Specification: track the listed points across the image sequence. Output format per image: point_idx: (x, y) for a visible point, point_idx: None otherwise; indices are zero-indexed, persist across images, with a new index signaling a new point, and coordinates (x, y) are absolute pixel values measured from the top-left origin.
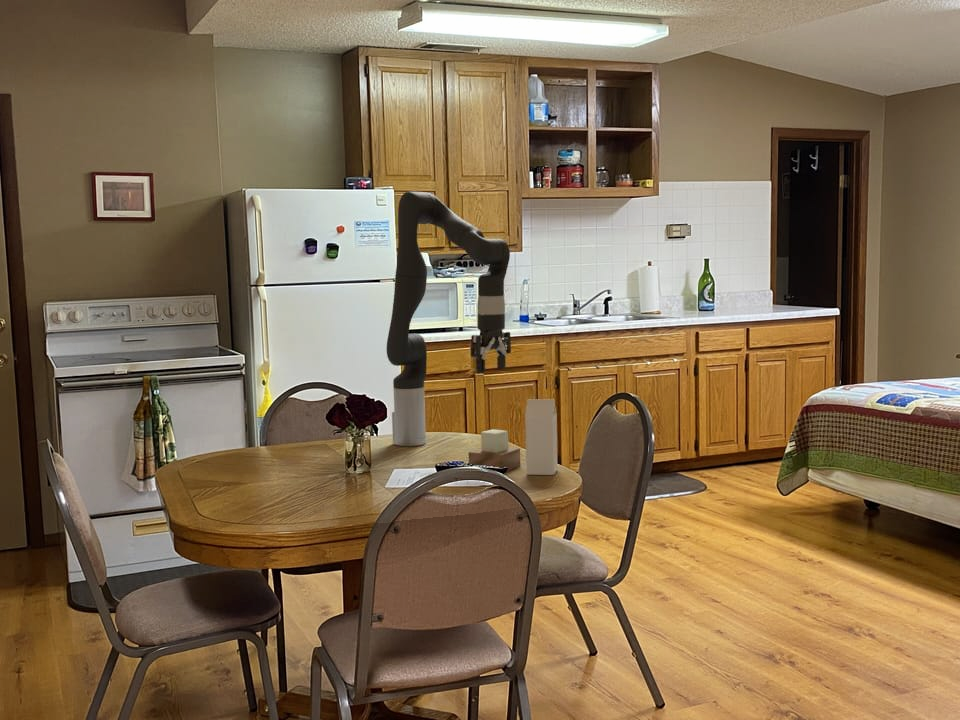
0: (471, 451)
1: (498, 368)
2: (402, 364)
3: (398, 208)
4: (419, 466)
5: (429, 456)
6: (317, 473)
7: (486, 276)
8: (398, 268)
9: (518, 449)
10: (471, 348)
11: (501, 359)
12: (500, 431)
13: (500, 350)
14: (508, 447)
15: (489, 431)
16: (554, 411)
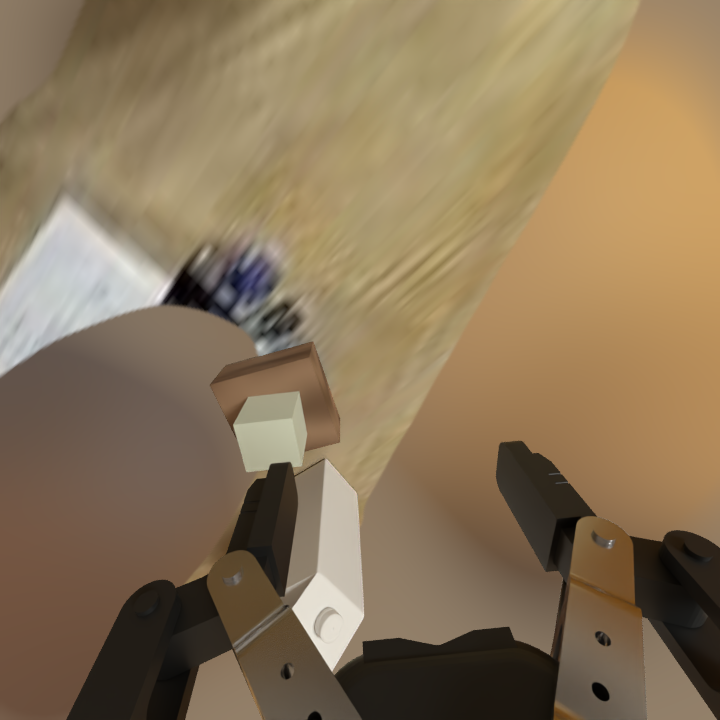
0: (222, 383)
1: (502, 450)
2: None
3: None
4: (144, 233)
5: (252, 131)
6: None
7: None
8: None
9: (331, 443)
10: (76, 711)
11: (535, 530)
12: (282, 456)
13: (556, 632)
14: (329, 415)
15: (259, 434)
16: (355, 622)
